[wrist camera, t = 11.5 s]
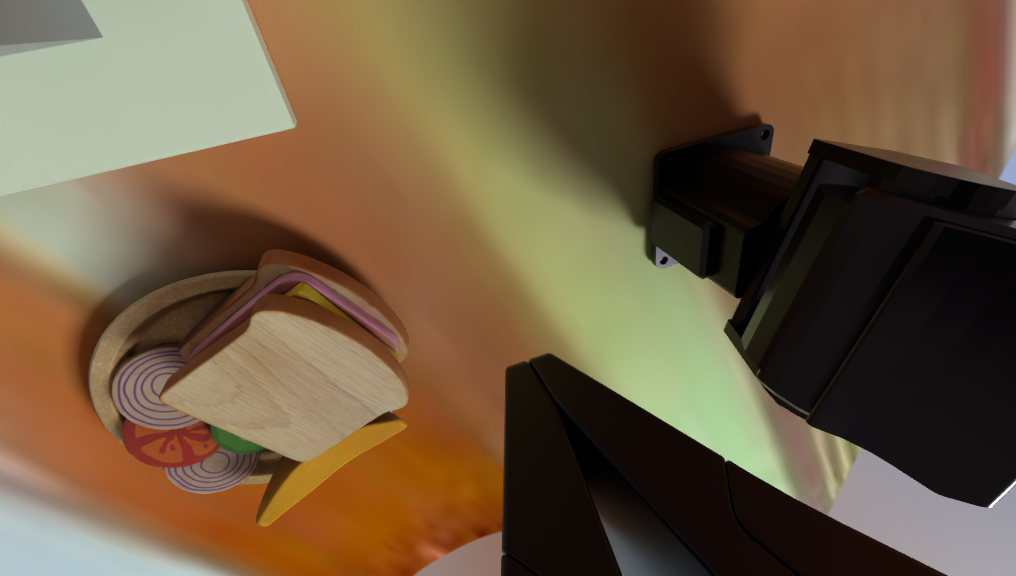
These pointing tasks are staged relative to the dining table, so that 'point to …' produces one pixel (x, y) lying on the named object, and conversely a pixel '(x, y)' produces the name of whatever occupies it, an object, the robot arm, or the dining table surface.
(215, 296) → the toy sandwich meal
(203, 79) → the base plate
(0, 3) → the grey rectangular block
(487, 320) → the dining table surface
